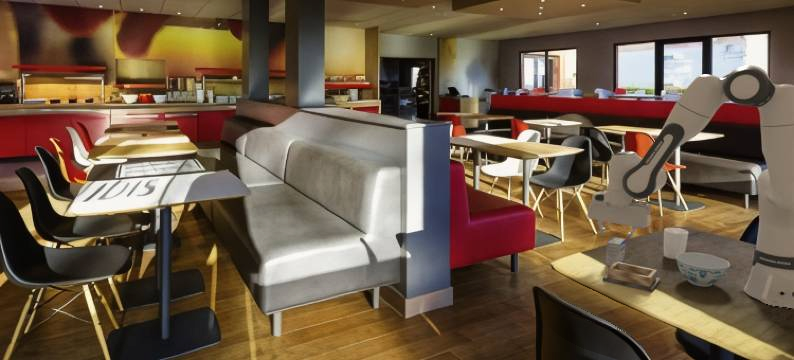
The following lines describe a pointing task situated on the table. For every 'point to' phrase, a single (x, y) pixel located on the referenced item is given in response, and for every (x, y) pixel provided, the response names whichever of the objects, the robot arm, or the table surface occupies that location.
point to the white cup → (674, 242)
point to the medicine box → (615, 251)
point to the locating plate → (632, 276)
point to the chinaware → (702, 268)
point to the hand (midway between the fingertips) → (615, 235)
